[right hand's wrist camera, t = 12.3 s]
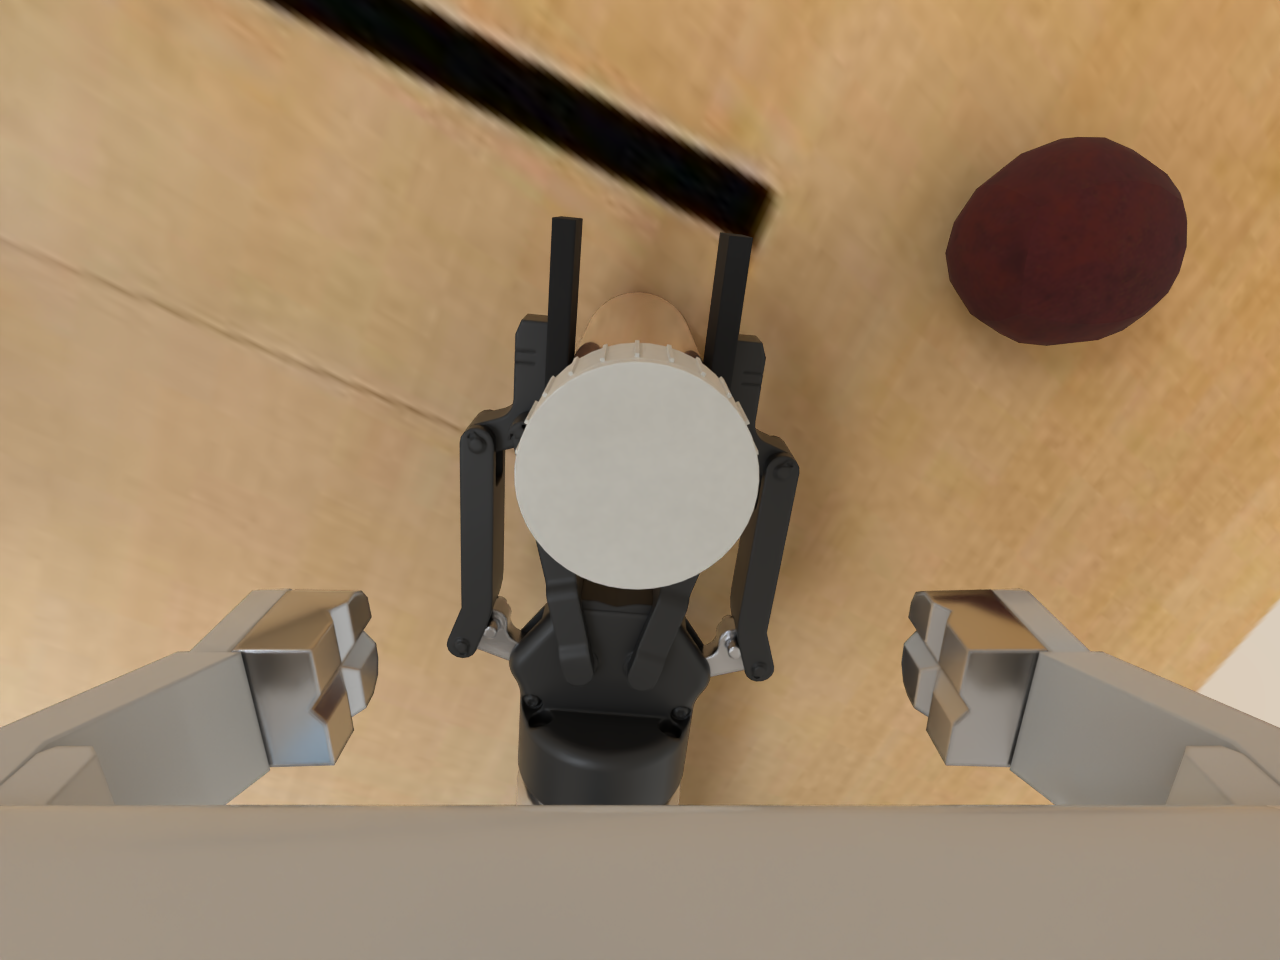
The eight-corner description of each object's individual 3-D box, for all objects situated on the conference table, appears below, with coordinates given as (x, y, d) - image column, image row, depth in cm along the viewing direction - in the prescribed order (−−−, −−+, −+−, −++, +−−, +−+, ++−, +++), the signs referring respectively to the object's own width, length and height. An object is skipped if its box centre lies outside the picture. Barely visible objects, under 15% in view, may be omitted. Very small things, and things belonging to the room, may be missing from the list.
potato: (1091, 321, 30) (1214, 353, 24) (914, 335, 31) (988, 370, 24) (1120, 136, 28) (1268, 115, 21) (926, 153, 28) (1014, 137, 21)
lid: (778, 504, 19) (796, 542, 16) (583, 578, 19) (576, 624, 17) (699, 301, 17) (709, 315, 14) (486, 394, 17) (465, 420, 15)
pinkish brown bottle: (707, 375, 32) (769, 525, 17) (610, 416, 32) (586, 594, 17) (667, 273, 30) (694, 339, 15) (565, 318, 31) (496, 424, 16)
